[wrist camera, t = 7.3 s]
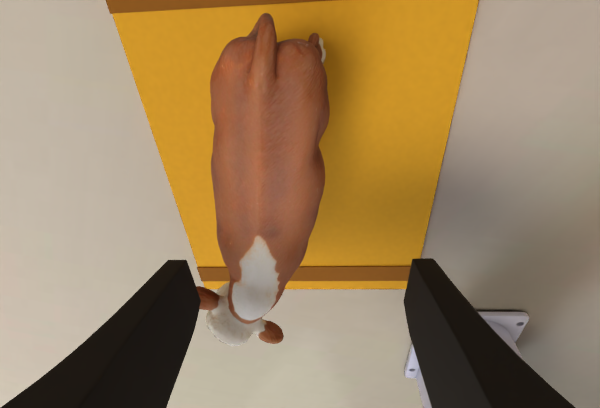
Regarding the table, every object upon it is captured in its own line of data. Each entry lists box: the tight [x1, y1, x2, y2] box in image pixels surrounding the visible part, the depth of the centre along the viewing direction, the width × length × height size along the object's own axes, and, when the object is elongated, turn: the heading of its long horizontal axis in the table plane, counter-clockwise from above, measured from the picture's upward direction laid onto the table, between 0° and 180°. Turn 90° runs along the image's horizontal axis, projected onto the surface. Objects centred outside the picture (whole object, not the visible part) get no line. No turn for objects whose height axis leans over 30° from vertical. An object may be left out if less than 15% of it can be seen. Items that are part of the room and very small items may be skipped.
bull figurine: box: [196, 13, 330, 346], centre depth 14 cm, size 4×13×8 cm, turn 168°
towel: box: [106, 0, 479, 289], centre depth 18 cm, size 20×15×1 cm
